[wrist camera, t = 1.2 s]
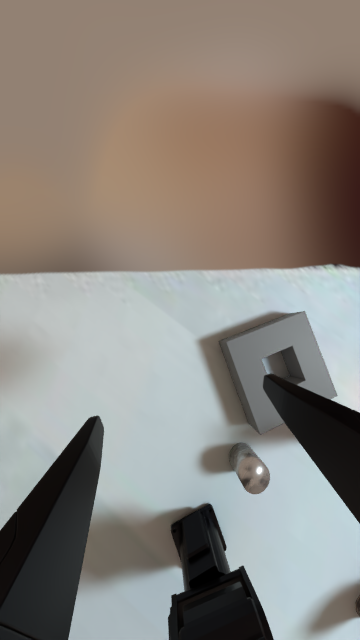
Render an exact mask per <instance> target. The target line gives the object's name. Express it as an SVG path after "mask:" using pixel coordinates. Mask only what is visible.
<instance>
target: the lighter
mask: <svg viewBox="0 0 360 640" xmlns="http://www.w3.org/2000/svg"><path fill="white" fill-rule="evenodd" d="M355 609H356V612H357V613H358V615H359V616H360V596H359V597H358V599H357V601H356V604H355Z"/></svg>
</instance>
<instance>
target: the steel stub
mask: <svg viewBox="0 0 360 640" xmlns="http://www.w3.org/2000/svg"><path fill="white" fill-rule="evenodd" d="M229 461H230V464H231V465H232V467H233V469H234V471H235V472H236V474H237V476H238V478H239V479H240V481H241V483H242V485H243V486H244V488H245V489H246V491H248V492H249V493H251V494H259V493H261V492H263V491H264V490H265V489H266V488H267V486H268V484H269V480H270V474H269V470H268V468H267V467H266V465H265V464H264V463H263V462H262V461H261V459H260V458H259V457H258V456H257V455H256V453H255V452H254V451H253V450H252V449H251V447H250V446H249V445H247V444H245V443H238V444H236V445H235V446H234V447H233V448H232V449H231V451H230V454H229Z"/></svg>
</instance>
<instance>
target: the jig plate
mask: <svg viewBox="0 0 360 640" xmlns="http://www.w3.org/2000/svg"><path fill="white" fill-rule="evenodd" d="M219 343H220V346H221V349H222V351H223V354H224V357H225V359H226V362H227V365H228V368H229V370H230V373H231V376H232V379H233V381H234V384H235V387H236V390H237V392H238V395H239V398H240V401H241V403H242V406H243V409H244V411H245V414H246V417H247V420H248V422H249V424H250V425H251V426H252V427H253V428H254V429H255V430H256V431H257V432H258V433H259V434H260V435H261V434H263V433H265V432H267V431H269V430H271V429H273V428H275V427H277V426H279V425H281V424H283V423H285V422H284V421H283V420H282V418H281V417H280V415H279V414H278V412H277V411H276V409H275V408H274V406H273V404H272V403H271V401H270V399H269V398H268V396H267V395H266V393H265V391H264V389H263V379H264V376H265V375H267V373H266V370H265V367H264V365H263V362H262V358H265V357H267V356H269V355H272V354H274V353H277V352H279V351H281V352H282V355H283V358H284V360H285V363H286V365H287V368H288V371H289V373H290V376H289V377H286V378H284V379H285V380H287V381H289V382H292V383H294V384H296V385H298V386H301V387H303V388H305V389H307V390H310V391H312V392H314V393H316V394H319V395H321V396H323V397H325V398H328V399H332V398H334V397H336V396H337V393H336V391H335V388H334V385H333V383H332V380H331V378H330V375H329V372H328V370H327V367H326V365H325V362H324V359H323V357H322V354H321V352H320V349H319V346H318V344H317V341H316V339H315V336H314V333H313V331H312V328H311V326H310V323H309V321H308V318H307V315H306V313H305V311H303V312H297V313H290V314H288V315H285V316H282V317H280V318H277V319H275V320H272V321H270V322H267V323H264V324H262V325H259V326H257V327H254V328H252V329H249V330H246V331H244V332H241V333H239V334H236V335H234V336H231V337H229V338H226V339H223V340H221V341H219Z"/></svg>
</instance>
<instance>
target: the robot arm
mask: <svg viewBox="0 0 360 640" xmlns="http://www.w3.org/2000/svg"><path fill="white" fill-rule="evenodd" d="M263 389H264V391H265V393H266V395H267V396H268V398H269V399H270V401H271V403H272V404H273V406H274V408H275V409H276V411H277V412H278V414H279V415H280V417H281V418H282V420H283V421H284V422H285V424H286V425H287V426H288V428H289V429H290V431H291V432H292V433H293V435H294V436H295V437H296V439H297V440H298V441H299V443H300V444H301V445H302V447H303V448H304V449H305V451H306V452H307V453H308V455H309V456H310V457H311V459H312V460H313V461H314V463H315V464H316V465H317V467H318V468H319V469H320V471H321V472H322V474H323V475H324V476H325V478H326V479H327V480H328V482H329V483H330V484H331V486H332V487H333V488H334V490H335V491H336V492H337V494H338V495H339V496H340V498H341V499H342V500H343V502H344V503H345V504H346V506H347V507H348V508H349V510H350V511H351V513H352V514H353V515H354V517H355V518H356V519H357V521H358V522H359V523H360V413H359V412H357V411H355V410H351V409H350V408H348V407H346V406H343V405H341V404H339V403H337V402H334V401H332V400H330V399H328V398H325V397H323V396H321V395H319V394H316V393H314V392H312V391H310V390H307V389H305V388H303V387H301V386H298V385H296V384H294V383H292V382H289V381H287V380H285V379H283V378H280V377H278V376H276V375H274V374H267V375H265V376H264V379H263ZM103 436H104V427H103V424H102V422H101V419H100V417H99V416H93V417H90V418H89V419H88V420H87V421H86V422H85V424H84V425H83V426H82V428H81V429H80V430H79V431H78V433H77V434H76V435H75V436H74V438H73V439H72V440H71V441H70V443H69V444H68V445H67V447H66V448H65V449H64V450H63V452H62V453H61V454H60V455H59V457H58V458H57V459H56V461H55V462H54V463H53V464H52V466H51V467H50V468H49V469H48V471H47V472H46V473H45V475H44V476H43V477H42V478H41V480H40V481H39V482H38V483H37V485H36V486H35V487H34V489H33V490H32V491H31V492H30V494H29V495H28V496H27V497H26V499H25V500H24V501H23V502H22V504H21V505H20V506H19V508H18V509H17V512H15V513H14V514H13V515H12V516H11V518H10V519H9V520H8V521H7V523H6V524H5V525H4V527H3V528H2V529H1V530H0V640H68V637H69V632H70V627H71V621H72V616H73V611H74V605H75V600H76V595H77V590H78V584H79V579H80V574H81V569H82V563H83V558H84V553H85V547H86V542H87V537H88V532H89V526H90V521H91V516H92V510H93V505H94V500H95V495H96V489H97V484H98V479H99V473H100V467H101V458H102V447H103ZM209 509H210V510H209ZM171 533H172V536H173V539H174V542H175V545H176V548H177V551H178V554H179V557H180V559H181V563H182V572H183V581H184V590H185V592H182V593H180V594H177V595H176V594H174V595H171V598H172V607H170V615H169V617H168V626H169V640H274V639H273V636H272V633H271V630H270V627H269V624H268V621H267V619H266V616H265V613H264V611H263V608H262V606H261V604H260V601H259V599H258V597H257V595H256V592H255V590H254V588H253V586H252V584H251V581H250V579H249V577H248V575H247V573H246V570H245V568H244V566H241V567H239V569H237V570H235V571H232V572H231V571H230V568H229V565H228V562H227V559H226V555H225V552H224V551H226V544H225V541H224V538H223V535H222V532H221V530H220V527H219V524H218V521H217V518H216V515H215V513H214V510H213V507H212V505H211V504H209V505H207V506H205V507H203V508H201V509H199V510H198V511H196V512H194V513H192V514H190V515H189V516H187V517H185V518H183V519H181V520H180V521H178V522H176V523H174V524H173V525H172V526H171Z"/></svg>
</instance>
